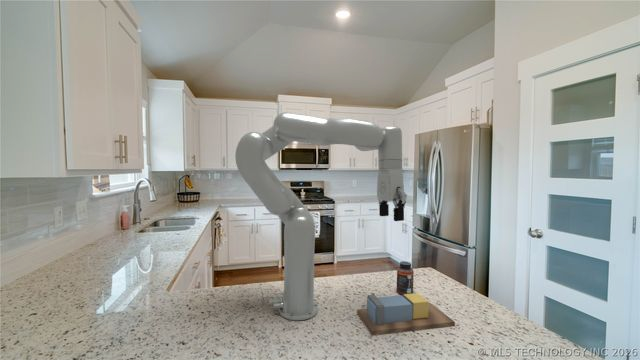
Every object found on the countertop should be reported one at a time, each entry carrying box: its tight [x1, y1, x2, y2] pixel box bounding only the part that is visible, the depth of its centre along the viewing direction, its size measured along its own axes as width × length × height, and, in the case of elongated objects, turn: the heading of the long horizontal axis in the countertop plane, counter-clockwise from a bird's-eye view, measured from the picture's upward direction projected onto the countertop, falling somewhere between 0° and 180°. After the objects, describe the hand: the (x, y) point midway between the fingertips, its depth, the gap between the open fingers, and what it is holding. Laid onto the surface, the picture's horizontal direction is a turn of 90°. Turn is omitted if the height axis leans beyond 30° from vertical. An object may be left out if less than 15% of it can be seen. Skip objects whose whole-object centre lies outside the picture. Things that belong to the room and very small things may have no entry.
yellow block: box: [403, 292, 430, 319], centre depth 83 cm, size 5×6×5 cm
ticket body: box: [366, 294, 413, 326], centre depth 81 cm, size 12×8×6 cm, turn 102°
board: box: [356, 302, 456, 336], centre depth 83 cm, size 26×12×1 cm, turn 102°
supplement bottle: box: [396, 260, 415, 295], centre depth 101 cm, size 6×6×11 cm
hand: (391, 218), depth 88 cm, fingers open, 9 cm apart
